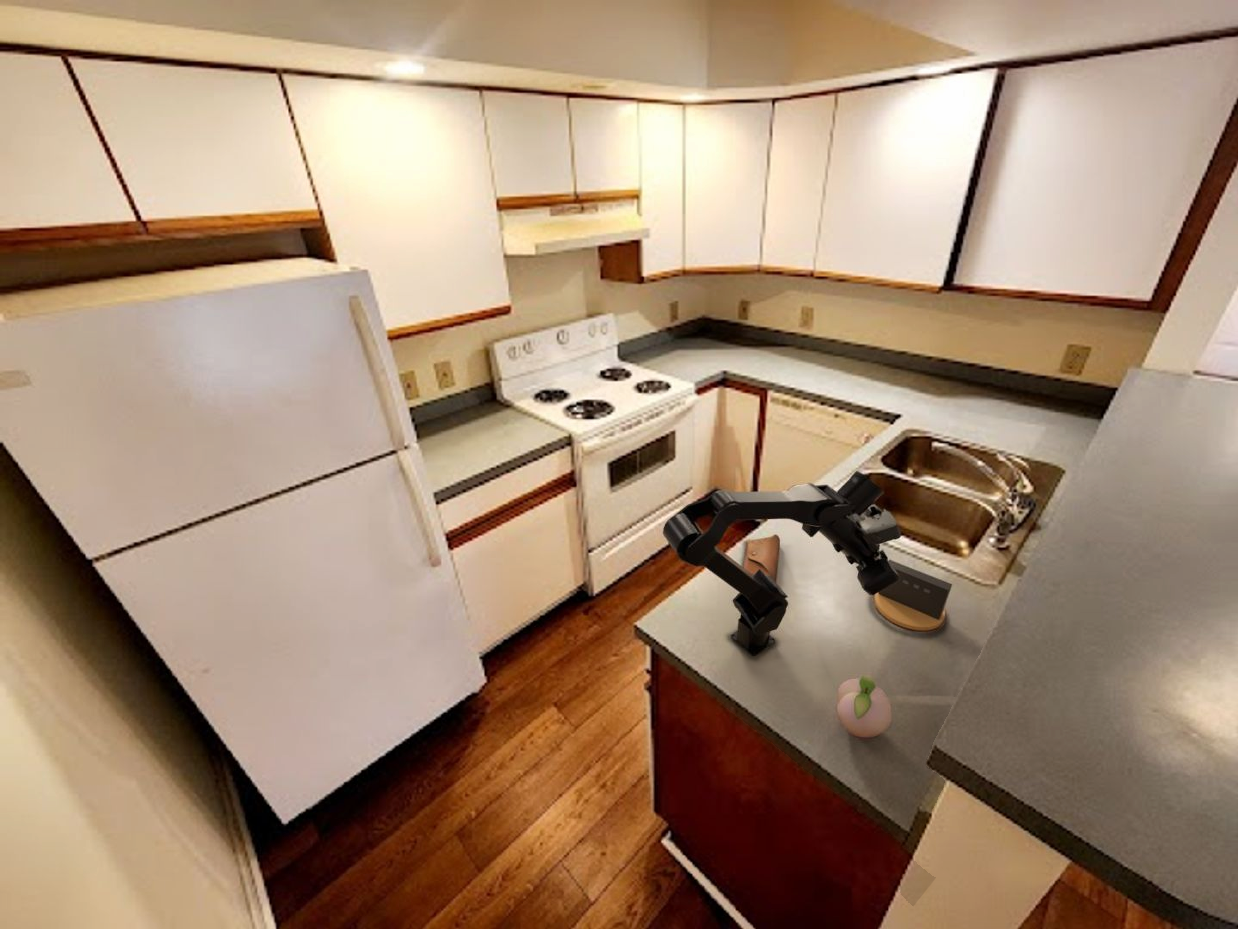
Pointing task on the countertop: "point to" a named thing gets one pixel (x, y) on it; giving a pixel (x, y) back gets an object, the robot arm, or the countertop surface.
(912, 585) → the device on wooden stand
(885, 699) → the decorative fruit
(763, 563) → the sunglasses case
